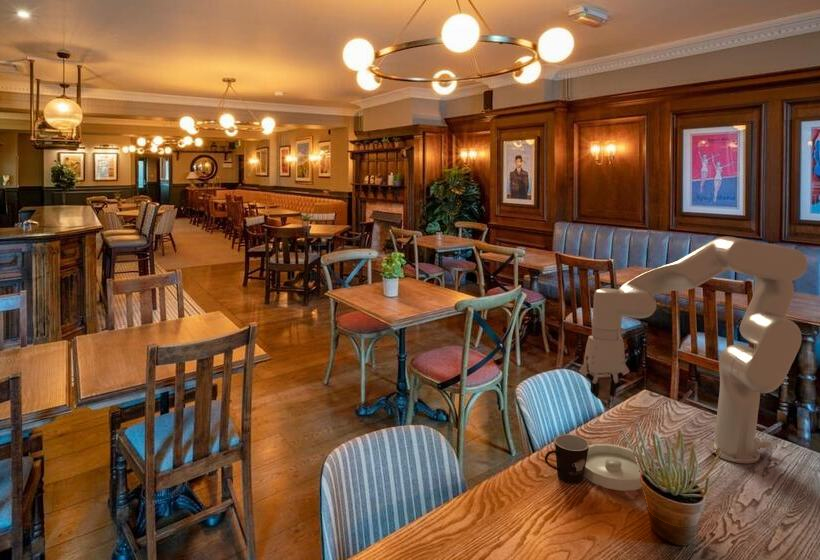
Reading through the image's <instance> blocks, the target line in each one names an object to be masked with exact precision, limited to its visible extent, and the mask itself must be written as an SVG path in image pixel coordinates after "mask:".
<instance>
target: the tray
mask: <svg viewBox="0 0 820 560" xmlns="http://www.w3.org/2000/svg"><path fill="white" fill-rule="evenodd" d="M583 478H585V479H587V480H588V481H589V482H590V483H592V484H594V485H597V486H600V487H602V488H605V489H611V490H616V491H619V492H620V491H621V492H623V491H624V492H625V491H626V492H627V491H637V490H640V489H642V488H641V483H640V472H639V467H638V465H637V462H636V458H635V457H634V455H633V449H631V448H627V447H625V446H623V445H619V444H618V445H617V444H611V443H592V444H589V449H588V454H587V460H586V465H585V470H584V476H583Z"/></svg>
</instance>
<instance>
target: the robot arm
mask: <svg viewBox="0 0 820 560" xmlns="http://www.w3.org/2000/svg"><path fill="white" fill-rule="evenodd" d="M807 269H808V259H807V257H806V256H805V254H804V253H803V252H801V251H800V250H798V249H797V248H793V247H789V246H782V245H778V244H772V243H763V242H757V241H754V240H749V239H745V238H738V237H734V236H720V237H717V238H715V239H713V240H711V241H709V242H707V243H706V244H704V245H703V246H701V247H699V248H697V249H695V250H694V251H692V252H690V253H688V254H686V255H685V256H683V257H681V258H680V259H678V260H676V261H674V262H671V263H668V264H664V265H662V266H660V267H657V268H656V267H655V268H654V269H651V270H649V271H646V272H643V273H642V274H640V275H638V276H635V277H634V278H633V279H631V280H629V281H627V282H626V283H624V284H622V285H621V286H620V287H619V288H618V289H617V288H608V287H607V288H605V287H603V288H599V289H596V290H595V291H594V293H593V307H592V308H593V309H592V328H591V335H589V336H588V338H587V341H586V346H585V352H584V356H583V357H584V358H583V359H584V360H583V364H582V366H581V367H580V368H579V370H578V371H579V373H580V374H581V375H583V376H585V377H586V378H587V379H589V381H590V388H589V389H590V392H591V394H592V395H593V396H594V397H595V398H596V397H598V391H599V384H598V383H597V380H598V376H599V375H600V374H609V376H610V377H611V393H610V397H612V398H613V397H615V393H616V391H617V384H618V383H619V381H620V380H621V379H622V378H623V377H624V376H625V375H627V374H628V373H630V369H629V367H628V365H626V363H625V361H626V356H625V352H626V351H625V344H624V339H623V337H622V336H623V334H626V333H627V330H626V328H623V327H622V321H623V320H622V319H623V317H627V318H633V319H646V318H649V317H651V316H652V315H653V314H654V313H655V311H656V309H657V302H656V299H655V296H657V295H660V294H663V293H666V292H667V293H668V292H672V291H676V292H677V291H688V290H694V289H695V288H697V287H699V286H701V285H704V283H706V282H708V281H709V280H711V279H713V278H715V277H717V276H719V275H721V274H722V273H725V272H726V271H731V272H734V273H738V274H743V275H747V276H751V277H753V278H754V281H755V288H754V292H753V295H752V298H751V300H750V303H749V304H748V306H747V308H746V310H745V313H744V315H743V317H742V320H741V322H740V325H739V333H740V335H741V336H742V338H743V339H745V340H746V341H748V342H749V343H751V344H754V345H755V346H756V347H755V348H753V347H751V346H748V345H746V344H741V343H740V344H739V343H738V344H737V343H735V344H731V345H728V346H727V347H725V348H724V349H723V350H722V351H721V354H720V355H719V360H718V369H719V370H718V371H719V396H718V402H717V411H716V413H717V414H716V422H715V431H714V438H712V439H710V440H709V441H708V442H707V449H708V450H709V451H710V452H711V454H713V453H715V452H716V450H717V449H718V448H720V449H721V456H720V457H719V458H720V459H723V460H726V461H728V462H732V463H738V464H747V465H749V464H753V463H757V462H758V461H759V460H760V457H761V456H760V455H761V454H760V452H759V450H760V449H768V448H769V449H770V448H771V446H772V444H771V442H770V441H769V440H760V438H759V437H756V434H757V433H756V432H757V424H758V415H759V407H760V401H761V400H760V399H761V394H768V393H769V394H770V393H773V392H774V391H775V390H777V389H778V388H780V386H781V385H782V384H783V382H784V380H785V379H786V378H787V375H788V372H789V371H790V369H791V367H792V364H793V363H794V361H795V358H796V356H797V354H798V352H799V350H800V348H801V345H802V339H803V337H802V332H801V329H800V327H799V326H798V325H797V324H796V323H795V322H794V321H793V320H791V319H790V318H789V319H788V318H786V316H787V314H788V311H789V309H790V306H791V304H792V301H793V299H794V292H795V291H794V283H793V281H796V280H797V279H799V278H801V277H802V276H803V275H804V274H805V273H806V271H807ZM588 371H589V372H588Z"/></svg>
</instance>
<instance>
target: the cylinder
mask: <svg viewBox="0 0 820 560" xmlns="http://www.w3.org/2000/svg"><path fill="white" fill-rule="evenodd" d="M597 383H598V384H599V391H598V397H595V398H596V399H598V400H603V401H606V400H607V401H608V400H610V399H611V395H610V393H611V377H610V375H608V374H599V376H598V380H597Z"/></svg>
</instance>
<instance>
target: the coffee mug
mask: <svg viewBox="0 0 820 560" xmlns="http://www.w3.org/2000/svg"><path fill="white" fill-rule="evenodd" d="M589 445H590V442H589V441H588V440H587V439H586V438H584V437H582V436H579V435H577V434H570V433H568V434H559V435H557V436H556V437H555V438H554V448H555V450H554V449H553V450H550V451H548V452H547V453H546V454H545V456H544V463H545V464H546V465H548V466H549V468H552V469H554V470H556V472H557V474H556V475H557V479H559V480H560V481H561V482H563V483H565V484H569V485H579V484H580V483H582V482H583V480H584V470H585V465H586V460H587V454H588V449H589ZM551 454H555V459H556V461H555V463H556V466H554V465H552V464H550V463H549V461H548V457H549V456H550V455H551Z"/></svg>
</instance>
